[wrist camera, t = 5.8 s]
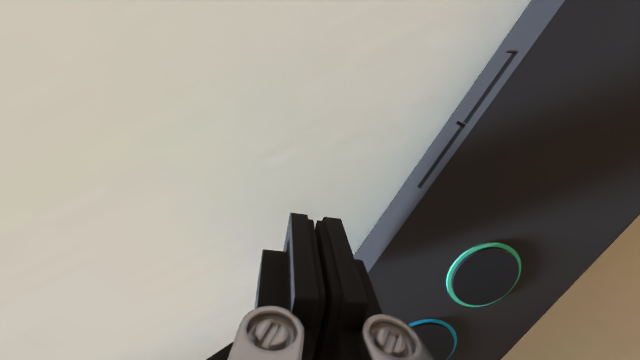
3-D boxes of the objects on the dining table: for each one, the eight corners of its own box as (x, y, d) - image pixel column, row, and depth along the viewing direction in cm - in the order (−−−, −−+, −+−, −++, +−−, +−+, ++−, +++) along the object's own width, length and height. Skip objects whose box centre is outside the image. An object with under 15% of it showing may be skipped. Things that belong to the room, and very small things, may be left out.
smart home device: (263, 415, 14) (612, -69, 9) (265, 377, 16) (560, -49, 10) (416, 455, 16) (767, 93, 11) (403, 419, 18) (704, 87, 12)
